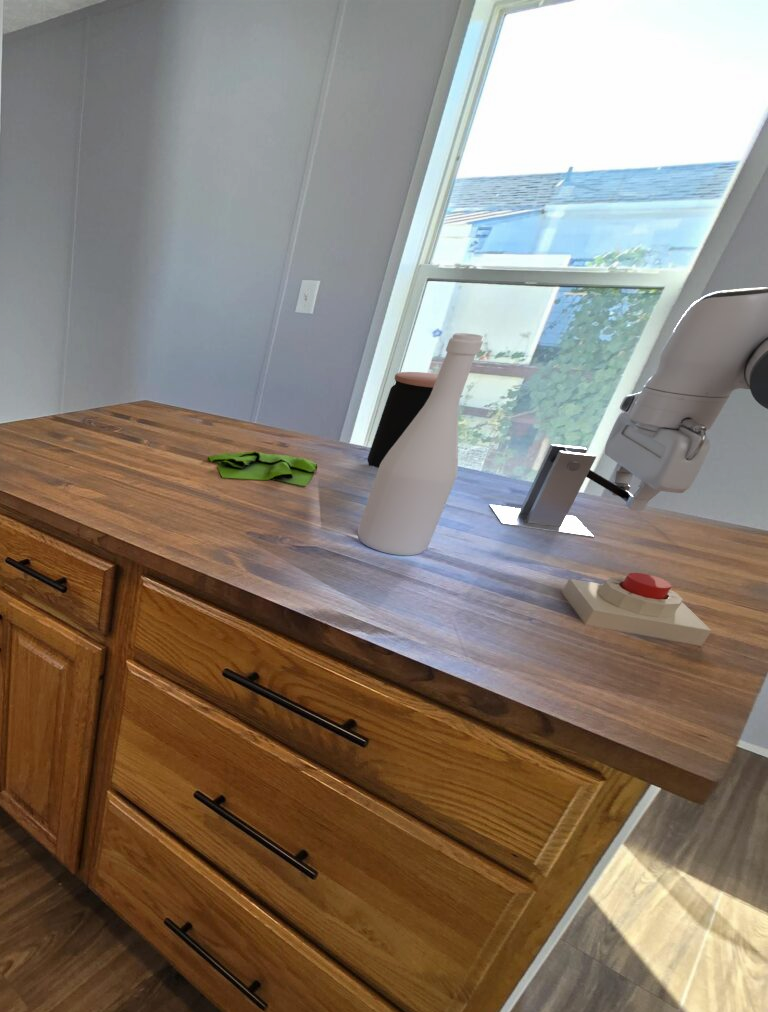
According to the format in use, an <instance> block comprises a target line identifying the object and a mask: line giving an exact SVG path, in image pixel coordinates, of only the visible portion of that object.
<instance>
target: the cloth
mask: <svg viewBox="0 0 768 1012" xmlns="http://www.w3.org/2000/svg"><path fill="white" fill-rule="evenodd" d="M207 460H209V461H210V462H211V463H212V462H213V463H217V464H218V465H217V470H218V473H219V474H220V476H221V478H222V479H234V480H249V481H250V480H251V481H269V480H271V479H272V481H275V482H276V481H277V482H283V483H286V484H291V485H295V486H298V487H299V486H301V487H306V486H307V485H308V484H309V482H310V481H311V480H312V478H313V476H314V475H315V472H314V471H316V470H318V464H317V463H316V462H314V461H312V460H309V459H307V458H302V457H297V456H292V455H285V454H274V453H272V454H270V453H269V454H268V453H263V452H259V451H244V452H233V453H219V454H214V455H208V456H207Z"/></svg>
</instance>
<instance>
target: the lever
mask: <svg viewBox="0 0 768 1012" xmlns="http://www.w3.org/2000/svg"><path fill="white" fill-rule="evenodd" d="M562 451H566V452H570V451H569V450H567V449H563V450H562ZM555 459H556V456H555V457H554V458H553V459H552V460H551V462H552V463H554V461H555ZM586 478H587V479H589V480H591V481H593V482H594V483H595V484H598V485H599V486H601V487H603V488H604V489H606V490H608V492H609V491H611V492H613V493H614V494H616V495H618V496H617V497H618V498H619V497H620V499H622V500H623V501H624V502H625V503H626V502H627V501H628V499H629V497H630V495H634V494H633V493H632V492H631V491H629V490H626V489H625V488H620V487H619V486H617V485H615V484H613V481H610V480H608V479H607V478H605V477H603V476H602V475H600V474H598V473H596V472H595V471H593V470H591V469H590V470H589V472H588V474H587V476H586Z"/></svg>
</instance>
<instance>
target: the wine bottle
mask: <svg viewBox="0 0 768 1012" xmlns="http://www.w3.org/2000/svg"><path fill="white" fill-rule="evenodd" d="M482 346H483V336H482V335H480V334H475V333H467V332H466V333H465V332H464V333H463V332H462V333H461V332H458V333H454V334H453V335H452V337H451V338H449V340H448V342H447V345H446V348H445V352H446V354H445V356H444V359H443V361H442V364H441V366H440V370H439V372H438V373H437V374H438V377H437V379H436V382H435V385H434V387H433V390H432V392H431V395H430V397H429V398H428V400H427V402H426V403H425V405H424V406H423V408H422V409H421V410H420V412H419V413H418V414H417V415H416V417H415V418H414V419H413V421H412V422H411V423H410V425H409V426H408V427H407V429H406V430H405V431H404V432H403V434H402V435H401V436H400V438H399V439H398V440H397V441H396V443H395V444H394V445H393V446H392V448H391V449H390V450H389V452H388V453H387V454H386V456H385V457H384V459H383V460H382V462H381V464H380V466H379V468H377V472H376V475H375V478H374V480H373V484H372V487H371V490H370V492H369V495H368V498H367V501H366V503H365V507H364V510H363V513H362V515H361V519H360V522H359V525H358V527H357V531H356V532H357V538H358V540H359V541H360V542H361V543H362V544H363V545H365V546H366V547H369V548H371V549H373V550H375V551H378V552H381V553H384V554H388V555H395V556H403V557H404V556H409V557H410V556H416V555H420V554H423V553H424V552H425V551H426V550H427V549H428V547H429V546H430V543H431V541H432V539H433V536H434V534H435V532H436V529H437V527H438V524H439V521H440V519H441V517H442V514H443V512H444V509H445V506H446V504H447V502H448V499H449V497H450V495H451V492H452V490H453V488H454V484H455V482H456V480H457V477H458V467H459V466H458V465H459V407H460V401H461V397H462V394H463V391H464V388H465V385H466V383H467V381H468V377H469V374H470V371H471V369H472V367H473V363H474V361H475V358H476V356H477V355H479V353H480V351H481V349H482Z"/></svg>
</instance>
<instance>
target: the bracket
mask: <svg viewBox="0 0 768 1012" xmlns="http://www.w3.org/2000/svg"><path fill="white" fill-rule="evenodd" d="M563 449H567V450H569V451H570V452H566V451H562V450H563ZM587 451H588V449H587V448H586V447H583V446H574V445H565V444H564V445H563V444H555V443H551V444H550V446H549V447H548V450H547V452H546V454H545V456H544V458H543V460H542V462H541V465H540V466H539V469H538V471H537V473H536V475H535V477H534V480H533V481H532V484H531V486H530V488H529V491H528V493H527V494H526V497H525V499H524V501H523V503H522V505H521V507H520V508H517V507H516V508H515V507H511V506H502V505H496V504H489V505H488V506H489V509H490V510H491V511H492V512H493V514H494V515H495V517H496V518H497V520H498V521H499V522H500V524H501V525H504V526H511V527H517V528H525V529H531V530H539V531H544V532H545V531H546V532H551V533H559V534H565V535H572V536H578V537H579V536H580V537H585V538H593V539H594V538H595V535H594V534H593V532H591V531H590V530H589V529H588V528H587V527H586V526H585V525H584V524H583V523H582V522H581V521H580V520H579V519H578V517H576V516H574V515H568V514H569V512H570V510H571V508H572V505H573V504H574V502H575V499H576V498H577V496H578V494H579V492H580V490H581V488H582V486H583V484H584V482H585V480H586V478H587V477H586V476H587V474H588V472H589V470H591V468H592V466H593V464H594V463H595V460H596V459H597V455H596V454H592V453H587ZM555 456H556V459H555V461H554V463H552V462H551V460H552V459H553V458H554V457H555Z"/></svg>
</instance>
